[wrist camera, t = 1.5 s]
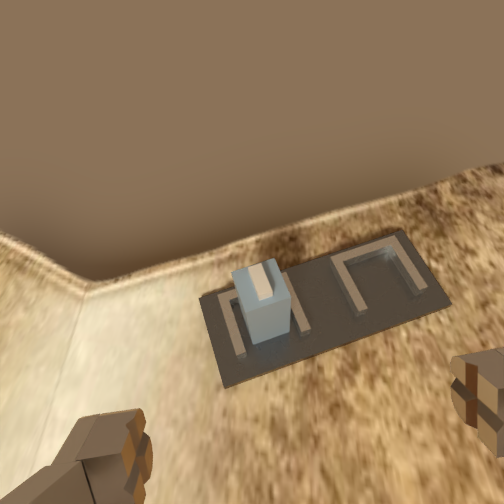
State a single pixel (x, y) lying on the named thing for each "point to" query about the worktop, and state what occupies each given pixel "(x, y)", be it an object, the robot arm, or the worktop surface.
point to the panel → (327, 306)
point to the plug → (263, 300)
